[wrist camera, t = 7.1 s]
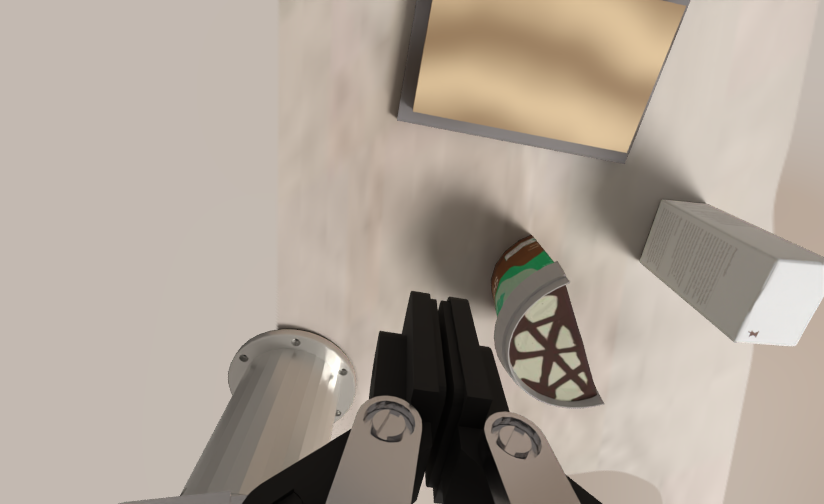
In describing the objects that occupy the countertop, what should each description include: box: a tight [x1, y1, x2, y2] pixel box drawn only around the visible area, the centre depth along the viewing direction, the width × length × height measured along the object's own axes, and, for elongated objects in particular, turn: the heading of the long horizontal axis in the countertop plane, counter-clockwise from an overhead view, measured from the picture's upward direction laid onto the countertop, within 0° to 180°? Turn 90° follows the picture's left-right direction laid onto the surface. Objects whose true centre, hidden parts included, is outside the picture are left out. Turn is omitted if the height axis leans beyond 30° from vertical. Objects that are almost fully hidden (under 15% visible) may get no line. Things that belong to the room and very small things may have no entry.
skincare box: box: [640, 200, 824, 346], centre depth 31 cm, size 6×4×12 cm
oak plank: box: [413, 0, 686, 153], centre depth 29 cm, size 10×16×2 cm, turn 80°
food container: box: [491, 235, 604, 408], centre depth 34 cm, size 12×6×10 cm, turn 22°
